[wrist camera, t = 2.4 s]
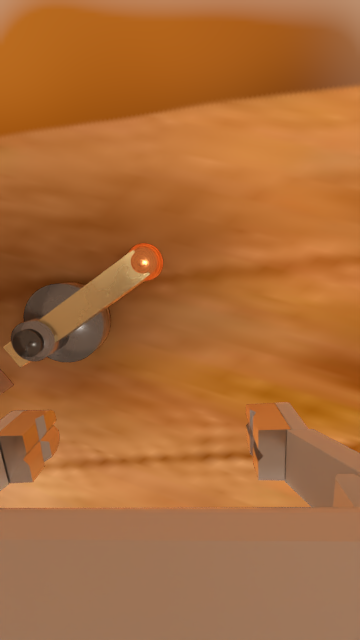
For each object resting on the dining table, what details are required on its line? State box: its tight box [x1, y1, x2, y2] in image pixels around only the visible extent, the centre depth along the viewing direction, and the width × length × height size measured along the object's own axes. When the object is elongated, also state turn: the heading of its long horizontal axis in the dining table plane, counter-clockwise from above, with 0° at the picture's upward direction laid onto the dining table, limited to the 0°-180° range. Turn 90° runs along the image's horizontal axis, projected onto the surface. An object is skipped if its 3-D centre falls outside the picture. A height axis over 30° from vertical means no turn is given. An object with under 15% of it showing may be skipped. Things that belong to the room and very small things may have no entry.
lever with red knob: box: [3, 243, 163, 368], centre depth 23 cm, size 17×8×6 cm, turn 125°
